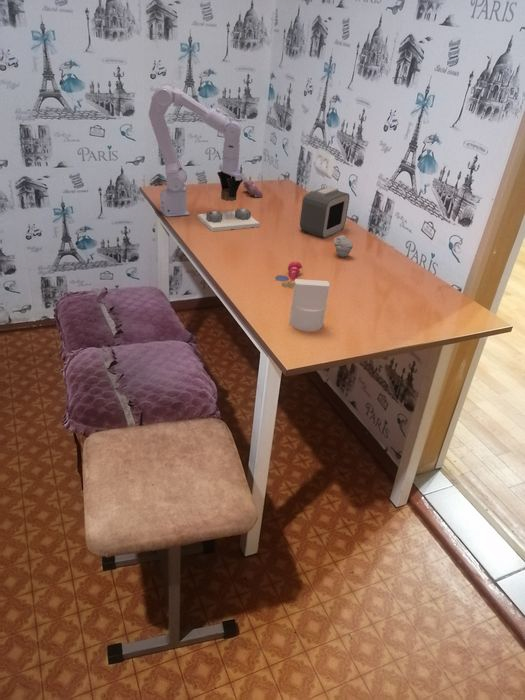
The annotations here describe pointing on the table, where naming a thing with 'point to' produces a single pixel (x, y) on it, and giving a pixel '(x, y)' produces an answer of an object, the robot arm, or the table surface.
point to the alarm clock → (324, 211)
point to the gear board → (228, 220)
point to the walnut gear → (227, 195)
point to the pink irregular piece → (252, 188)
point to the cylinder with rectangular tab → (309, 304)
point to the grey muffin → (342, 245)
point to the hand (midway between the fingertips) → (228, 194)
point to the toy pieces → (293, 272)
